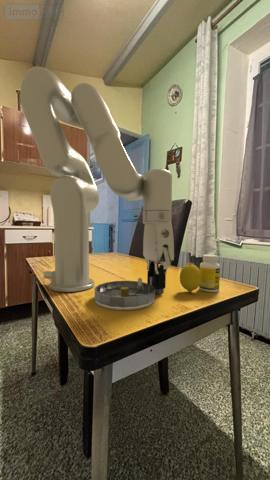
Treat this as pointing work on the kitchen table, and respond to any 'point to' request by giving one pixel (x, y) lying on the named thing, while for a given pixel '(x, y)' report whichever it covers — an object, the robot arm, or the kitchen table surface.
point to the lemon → (190, 277)
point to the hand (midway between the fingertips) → (156, 285)
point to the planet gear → (157, 291)
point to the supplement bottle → (210, 274)
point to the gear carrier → (124, 295)
